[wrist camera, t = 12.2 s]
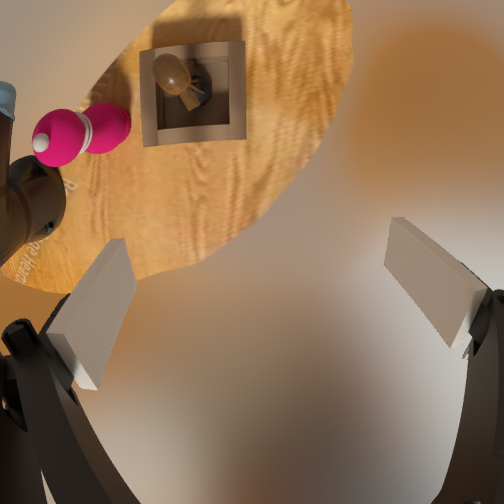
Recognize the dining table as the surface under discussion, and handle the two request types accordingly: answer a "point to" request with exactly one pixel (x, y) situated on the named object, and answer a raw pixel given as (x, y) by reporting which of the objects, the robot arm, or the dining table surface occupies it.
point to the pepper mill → (79, 133)
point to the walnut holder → (204, 117)
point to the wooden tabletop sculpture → (181, 81)
